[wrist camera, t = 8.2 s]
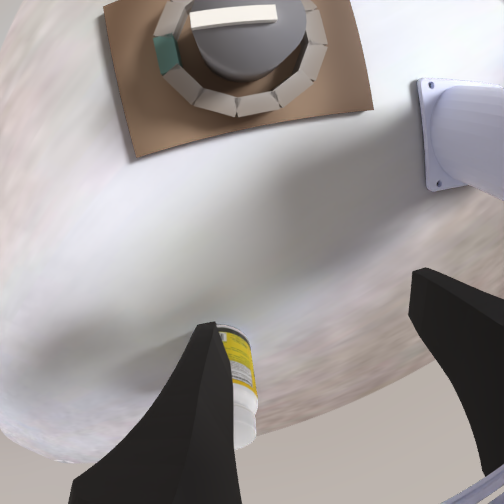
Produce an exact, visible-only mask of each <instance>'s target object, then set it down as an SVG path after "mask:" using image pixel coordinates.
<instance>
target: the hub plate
mask: <svg viewBox="0 0 504 504" xmlns="http://www.w3.org/2000/svg"><path fill="white" fill-rule="evenodd" d="M194 1H195V0H118V1H116V2H113V3H111V4H108V5H106V6H103V9H104V15H105V21H106V27H107V33H108V39H109V44H110V49H111V54H112V59H113V64H114V69H115V74H116V78H117V83H118V87H119V92H120V96H121V100H122V104H123V109H124V113H125V117H126V121H127V124H128V128H129V132H130V136H131V140H132V143H133V147H134V151H135V154H136V158H138V157H141V156H144V155H147V154H151V153H154V152H157V151H161V150H164V149H167V148H171V147H174V146H178V145H181V144H185V143H189V142H193V141H196V140H200V139H204V138H208V137H212V136H216V135H220V134H225V133H229V132H234V131H238V130H243V129H247V128H252V127H257V126H262V125H267V124H273V123H278V122H284V121H290V120H296V119H302V118H309V117H316V116H323V115H330V114H339V113H347V112H357V111H367V110H374V108H373V102H372V96H371V90H370V84H369V79H368V74H367V69H366V64H365V59H364V54H363V50H362V45H361V41H360V37H359V33H358V29H357V25H356V21H355V18H354V14H353V10H352V7H351V3H350V0H301V2H302V4H303V6H304V9H305V12H306V20H307V23H306V30H305V34H304V36H303V39H302V40H301V42H300V44H299V45H298V46H297V47H296V49H295V50H294V51H293V52H292V53H291V54H290V55H289V56H287V57H286V58H285V59H284V60H283V61H282V62H281V63H280V64H279V65H278V66H277V67H276V68H275V69H274V70H273V71H272V72H271V73H270V74H268V75H267V76H265V77H263V78H261V79H259V80H256V81H252V82H242V83H241V82H233V81H228V80H225V79H223V78H221V77H219V76H217V75H216V74H214V73H213V72H212V71H211V70H210V69H209V68H208V67H207V65H206V64H205V62H204V60H203V58H202V56H201V53H200V51H199V48H198V46H197V43H196V40H195V38H194V35H193V33H192V30H191V25H190V12H191V9H192V6H193V4H194Z"/></svg>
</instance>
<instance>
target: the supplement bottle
mask: <svg viewBox="0 0 504 504" xmlns="http://www.w3.org/2000/svg"><path fill="white" fill-rule="evenodd" d="M217 328H218V331H219V334H220V336H221V339H222V342H223V345H224V347H225V350H226V353H227V355H228V358H229V360H230V364H231V372H232V380H233V402H234V450H236V449H240V448H243V447H245V446H247V445H249V444H250V443H252V442H253V441H254V439H255V438H256V419H255V416H254V415H255V413H256V411H257V409H258V397H257V391H256V384H255V376H254V370H253V363H252V356H251V349H250V344H249V341H248V339H247V337H246V336H245V335H244V333H242V332H241V331H240V330H238V329H236V328H234V327H231V326H227V325H217Z"/></svg>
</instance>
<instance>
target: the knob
mask: <svg viewBox="0 0 504 504" xmlns="http://www.w3.org/2000/svg"><path fill="white" fill-rule="evenodd" d="M306 23H307V20H306V12H305V9H304V6H303V4H302V2H301V0H195V1H194V4H193V6H192V9H191V12H190V25H191V30H192V33H193V35H194V38H195V40H196V43H197V46H198V48H199V51H200V53H201V56H202V58H203V60H204V62H205V64H206V65H207V67H208V68H209V69H210V70H211V71H212V72H213V73H214V74H216V75H217V76H219V77H221V78H223V79H225V80H228V81H233V82H241V83H242V82H252V81H256V80H259V79H261V78H263V77H265V76H267V75H268V74H270V73H271V72H272V71H273V70H274V69H275V68H276V67H277V66H278V65H279V64H280V63H281V62H282V61H283V60H284V59H285V58H286V57H287V56H289V55H290V54H291V53H292V52H293V51H294V50H295V49H296V47H297V46H298V45H299V44H300V42H301V40H302V39H303V36H304V34H305V30H306Z"/></svg>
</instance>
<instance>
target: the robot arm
mask: <svg viewBox="0 0 504 504" xmlns="http://www.w3.org/2000/svg"><path fill="white" fill-rule="evenodd" d="M429 83H430V84H431V88H430V87H429ZM417 86H418V93H419V100H420V107H421V115H422V125H423V135H424V148H425V165H426V187H427V189H428V190H430V191H433V192H434V191H439V190H444V189H450V188H455V187H460V186H466V185H470V186H472V187H475V188H477V189H479V190H481V191H483V192H485V193H488V194H490V195H492V196H494V197H496V198H498V199H500V200H502V201H504V88H502V87H501V86H500V85H497V84H490V83H482V82H473V81H463V80H452V79H435V78H420V79H419V80H418V82H417ZM438 181H439V184H438V185H437V182H438ZM408 316H409V317H410V319H411V321H412V323H413V325H414V327H415V329H416V331H417V333H418V334H419V336H420V338H421V339H422V341H423V342H424V343H425V345H426V346H427V348H428V349H429V351H430V352H431V353H432V355H433V356H434V358H435V359H436V360H437V362H438V363H439V365H440V366H441V368H442V369H443V371H444V372H445V373H446V375H447V376H448V378H449V379H450V381H451V383H452V385H453V387H454V389H455V391H456V392H457V395H458V397H459V399H460V401H461V403H462V406H463V408H464V410H465V413H466V415H467V418H468V420H469V423H470V425H471V429H472V431H473V435H474V438H475V441H476V444H477V448H478V452H479V457H480V460H481V466H482V471H483V473H484V475H485V478H483V479H482V480H480V481H479V482H477V483H475V484H474V485H472V486H470V487H469V488H467V489H466V490H464V491H462V492H460V493H459V494H457V495H455V496H453V497H452V498H450V499H448V500H446V501H444V502H442V503H440V504H477V503H478V502H480V501H481V500H483V499H484V498H486V497H487V496H489V495H490V494H492V493H493V492H495V491H496V490H497V489H499V488H500V487H502V486H503V485H504V299H501V298H498V297H496V296H493V295H491V294H488V293H486V292H483V291H481V290H478V289H476V288H474V287H471V286H469V285H467V284H465V283H462V282H460V281H458V280H456V279H453V278H451V277H449V276H447V275H444V274H442V273H440V272H437V271H435V270H432V269H429V268H426V267H425V268H422V269H419V270H416V271H412V284H411V294H410V304H409V313H408ZM68 504H242V501H241V496H240V489H239V483H238V476H237V469H236V461H235V454H234V402H233V380H232V372H231V364H230V360H229V358H228V355H227V353H226V350H225V347H224V345H223V342H222V339H221V336H220V334H219V331H218V328H217V325H216V323H215V322H210V323H205V324H199V325H197V327H196V328H195V330H194V332H193V334H192V337H191V339H190V341H189V343H188V345H187V347H186V349H185V351H184V353H183V355H182V357H181V359H180V360H179V362H178V364H177V366H176V368H175V370H174V371H173V373H172V375H171V377H170V378H169V380H168V381H167V383H166V385H165V386H164V388H163V390H162V391H161V393H160V394H159V396H158V397H157V399H156V400H155V402H154V403H153V404H152V406H151V407H150V408H149V410H148V411H147V412H146V414H145V415H144V416H143V418H142V419H141V420H140V421H139V422H138V423H137V425H136V426H135V427H134V428H133V429H132V430H131V431H130V432H129V433H128V435H127V436H126V437H125V438H124V439H123V440H122V441H121V442H120V443H119V444H118V445H117V446H116V447H115V448H114V449H112V450H111V451H110V452H109V453H108V454H107V455H106V456H105V457H103V458H102V459H101V460H100V461H99V462H97V463H96V464H95V465H94V466H92V467H91V468H89V469H88V470H87V471H85V472H84V473H83V474H81V475H80V476H78V477H77V478H75V479H74V480H73V483H72V487H71V492H70V497H69V502H68ZM488 504H504V493H502V494H501V495H499V496H498V497H497V498H495V499H494V500H492V501H491V502H490V503H488Z"/></svg>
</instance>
